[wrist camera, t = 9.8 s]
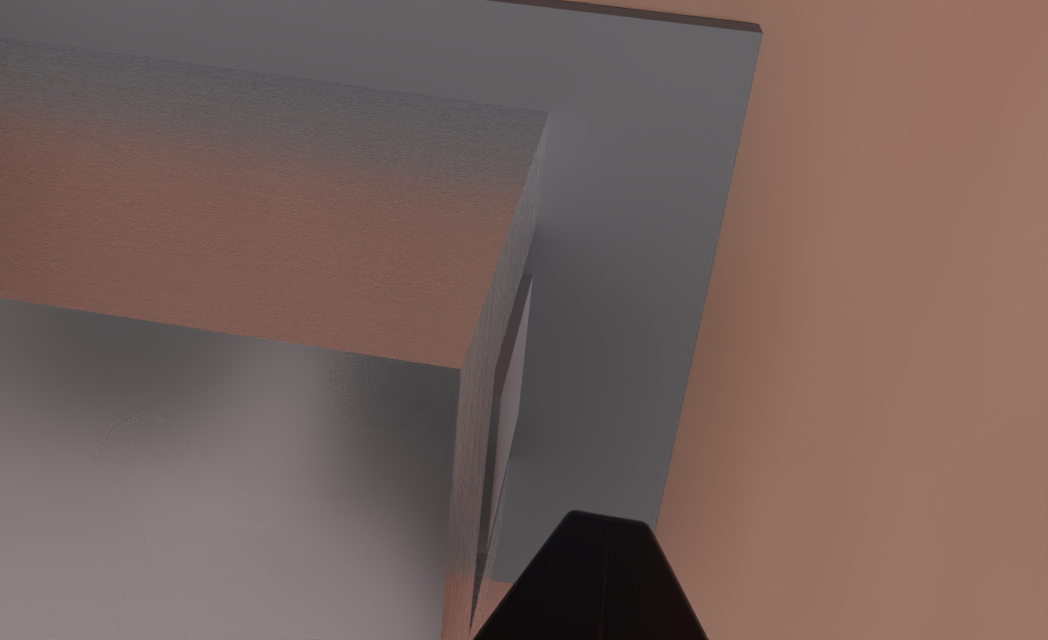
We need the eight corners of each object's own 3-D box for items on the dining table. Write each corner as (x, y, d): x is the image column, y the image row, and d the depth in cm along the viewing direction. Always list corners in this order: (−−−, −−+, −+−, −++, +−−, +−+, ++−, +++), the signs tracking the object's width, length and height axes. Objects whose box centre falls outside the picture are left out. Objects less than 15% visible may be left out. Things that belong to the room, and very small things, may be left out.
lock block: (549, 111, 10) (439, 431, 5) (500, 531, 13) (403, 982, 8) (-80, 25, 10) (-754, 241, 5) (19, 452, 13) (-350, 834, 8)
